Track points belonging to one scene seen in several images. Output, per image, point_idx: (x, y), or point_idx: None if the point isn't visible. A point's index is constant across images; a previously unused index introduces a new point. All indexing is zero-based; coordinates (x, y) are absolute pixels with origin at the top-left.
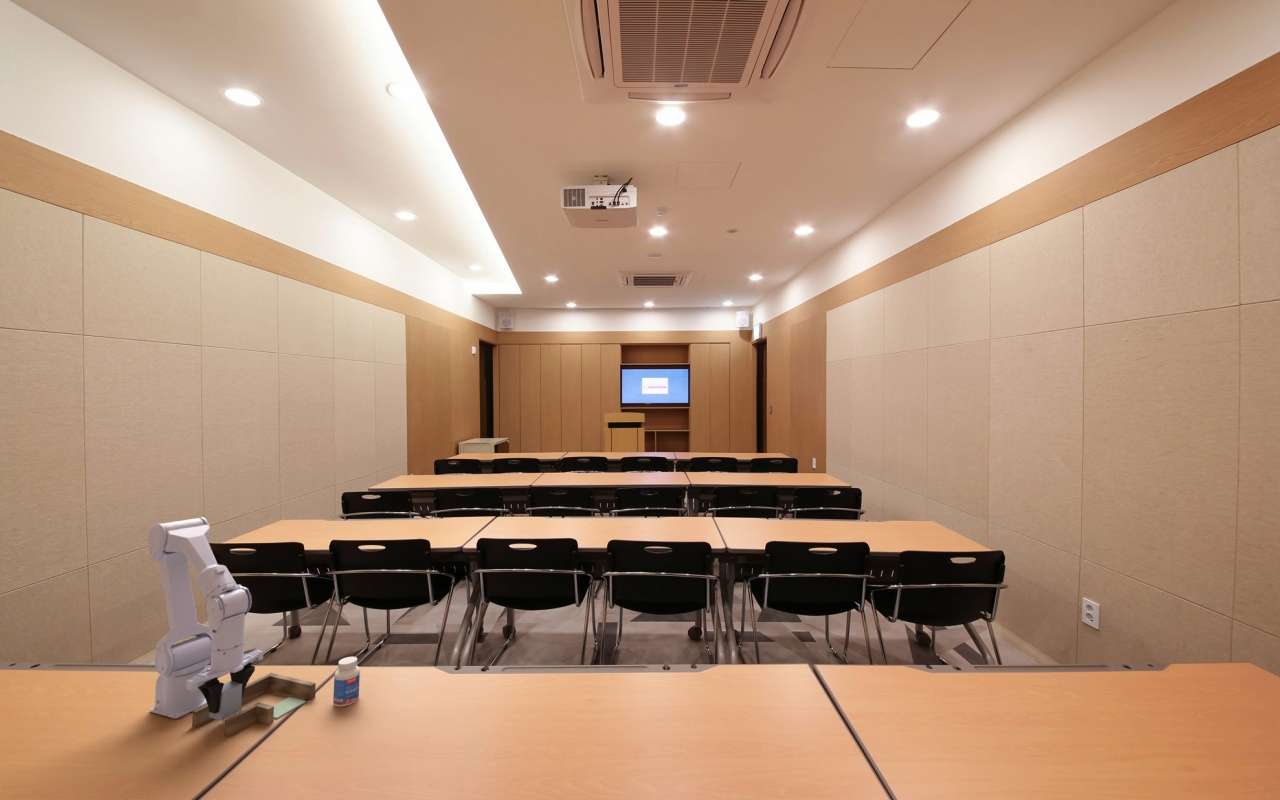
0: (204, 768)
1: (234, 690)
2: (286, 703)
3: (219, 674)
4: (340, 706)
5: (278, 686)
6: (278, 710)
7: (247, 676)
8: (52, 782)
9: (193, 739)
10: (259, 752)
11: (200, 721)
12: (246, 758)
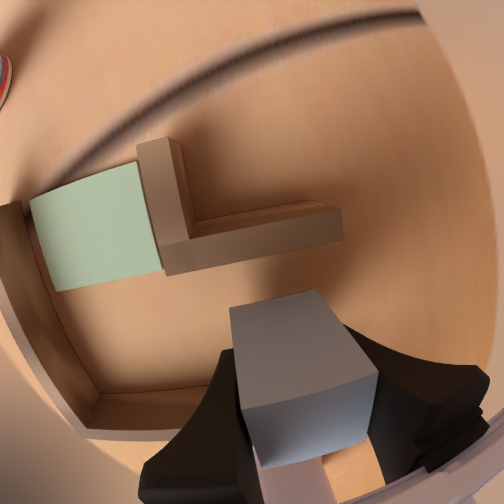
0: (412, 91)
1: (291, 381)
2: (73, 250)
3: (493, 459)
4: (10, 62)
5: (72, 373)
6: (108, 220)
7: (203, 444)
8: (485, 341)
9: (363, 297)
10: (292, 6)
11: None
12: (329, 16)
